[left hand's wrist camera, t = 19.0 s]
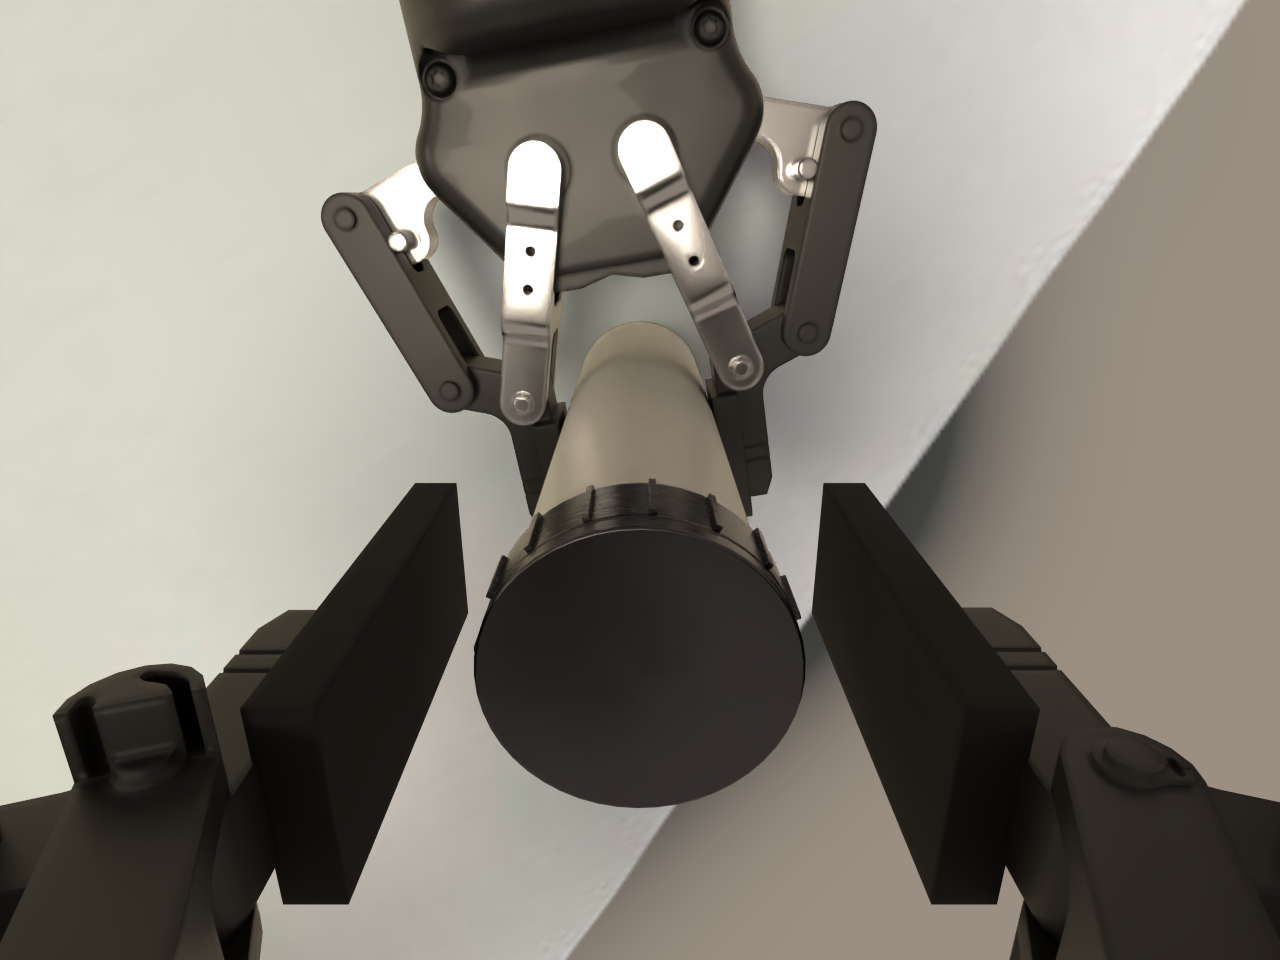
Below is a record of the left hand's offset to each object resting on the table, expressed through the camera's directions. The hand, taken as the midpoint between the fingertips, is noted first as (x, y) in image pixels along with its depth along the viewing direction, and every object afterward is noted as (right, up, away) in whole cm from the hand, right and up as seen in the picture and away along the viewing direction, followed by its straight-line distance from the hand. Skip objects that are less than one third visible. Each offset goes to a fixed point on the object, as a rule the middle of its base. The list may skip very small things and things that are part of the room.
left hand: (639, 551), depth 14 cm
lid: (0, -1, -3) cm, 4 cm away
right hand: (0, 0, +8) cm, 8 cm away
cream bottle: (0, +5, +13) cm, 14 cm away
